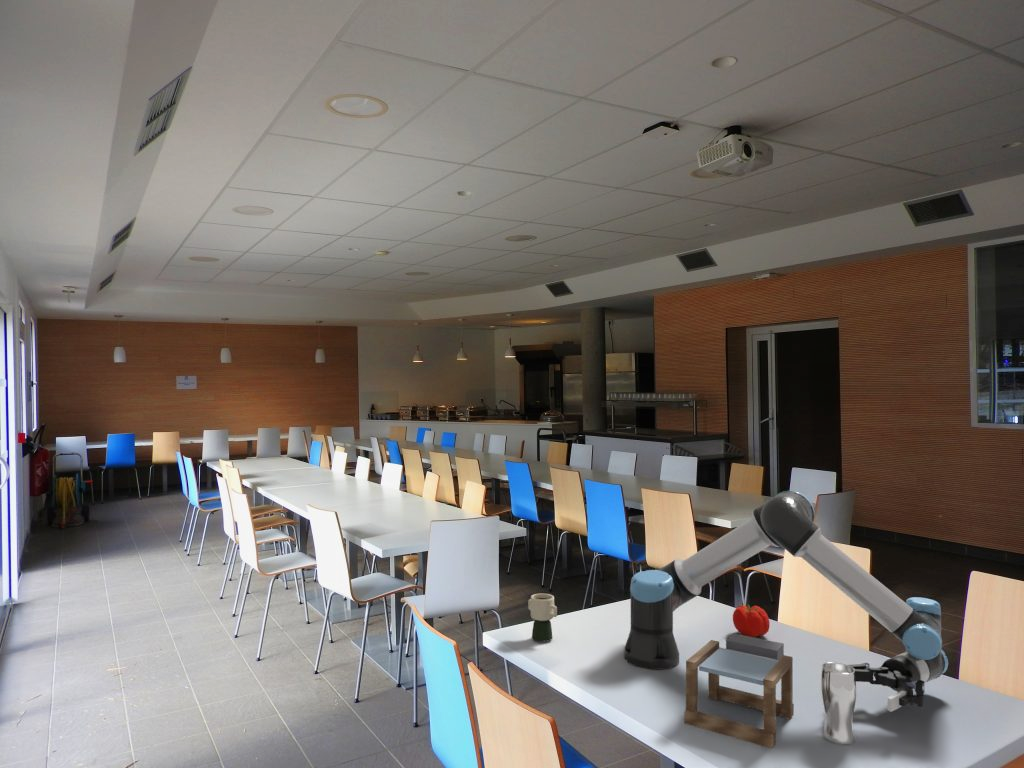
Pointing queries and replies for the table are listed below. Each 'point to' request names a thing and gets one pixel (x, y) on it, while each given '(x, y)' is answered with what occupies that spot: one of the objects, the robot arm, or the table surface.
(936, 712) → the table surface
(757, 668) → the trapdoor
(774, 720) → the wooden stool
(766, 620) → the tomato
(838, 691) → the beer glass
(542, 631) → the character mug
